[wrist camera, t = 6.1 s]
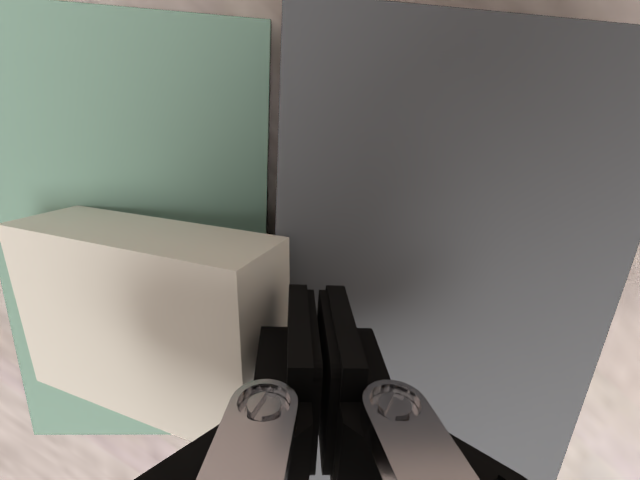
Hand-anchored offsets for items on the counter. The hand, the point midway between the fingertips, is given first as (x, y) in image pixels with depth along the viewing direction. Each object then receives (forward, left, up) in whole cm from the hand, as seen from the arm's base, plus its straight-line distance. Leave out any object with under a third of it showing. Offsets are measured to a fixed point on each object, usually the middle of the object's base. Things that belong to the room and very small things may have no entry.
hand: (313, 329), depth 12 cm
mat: (0, -7, -5) cm, 9 cm away
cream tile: (+1, -5, -3) cm, 6 cm away
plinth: (0, +5, -5) cm, 7 cm away
